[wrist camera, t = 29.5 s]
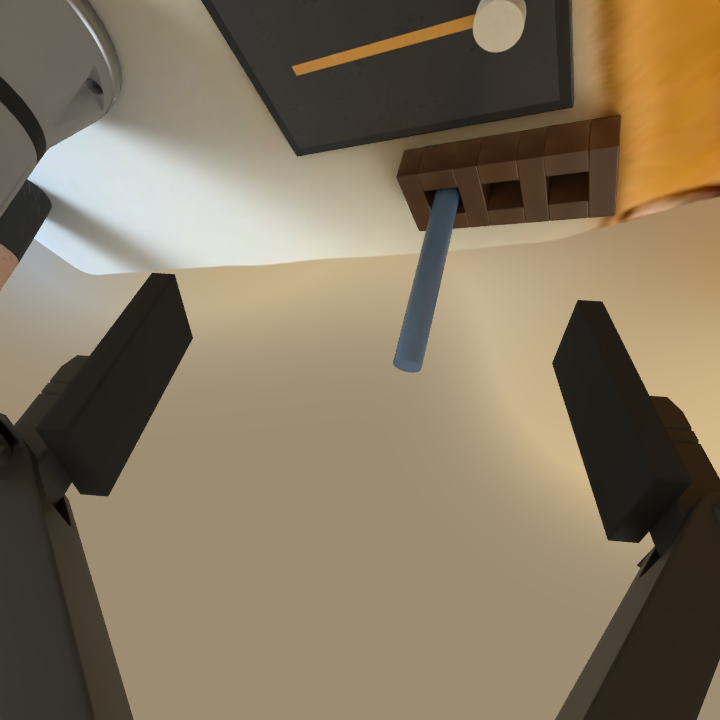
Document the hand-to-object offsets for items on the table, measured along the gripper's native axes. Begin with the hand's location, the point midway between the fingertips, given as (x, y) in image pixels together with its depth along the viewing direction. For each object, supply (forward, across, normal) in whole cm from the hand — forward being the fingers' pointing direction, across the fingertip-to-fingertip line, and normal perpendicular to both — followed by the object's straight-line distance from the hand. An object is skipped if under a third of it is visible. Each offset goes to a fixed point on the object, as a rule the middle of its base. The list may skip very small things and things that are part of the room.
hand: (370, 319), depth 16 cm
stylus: (+28, +5, -6) cm, 29 cm away
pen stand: (+26, +9, -4) cm, 28 cm away
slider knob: (+21, +6, +6) cm, 23 cm away
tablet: (+24, -1, +4) cm, 25 cm away
